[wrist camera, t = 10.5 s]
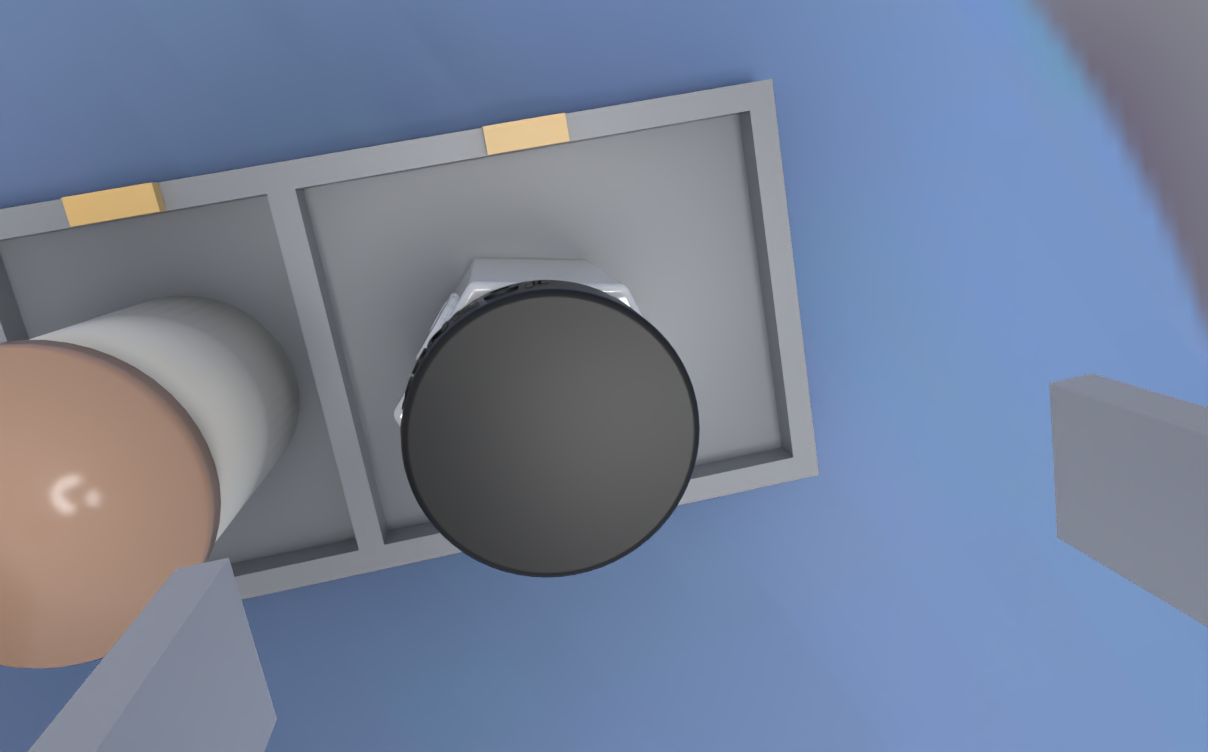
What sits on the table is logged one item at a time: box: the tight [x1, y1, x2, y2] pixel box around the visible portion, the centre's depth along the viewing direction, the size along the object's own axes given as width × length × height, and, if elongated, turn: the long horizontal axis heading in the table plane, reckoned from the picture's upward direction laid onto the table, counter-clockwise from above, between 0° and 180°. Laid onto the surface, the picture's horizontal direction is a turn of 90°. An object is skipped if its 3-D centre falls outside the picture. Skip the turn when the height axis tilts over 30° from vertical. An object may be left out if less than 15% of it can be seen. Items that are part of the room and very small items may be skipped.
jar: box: [394, 258, 700, 577], centre depth 29 cm, size 9×8×12 cm
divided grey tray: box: [0, 79, 819, 600], centre depth 33 cm, size 30×16×3 cm, turn 99°
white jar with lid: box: [0, 296, 299, 668], centre depth 27 cm, size 8×8×12 cm
